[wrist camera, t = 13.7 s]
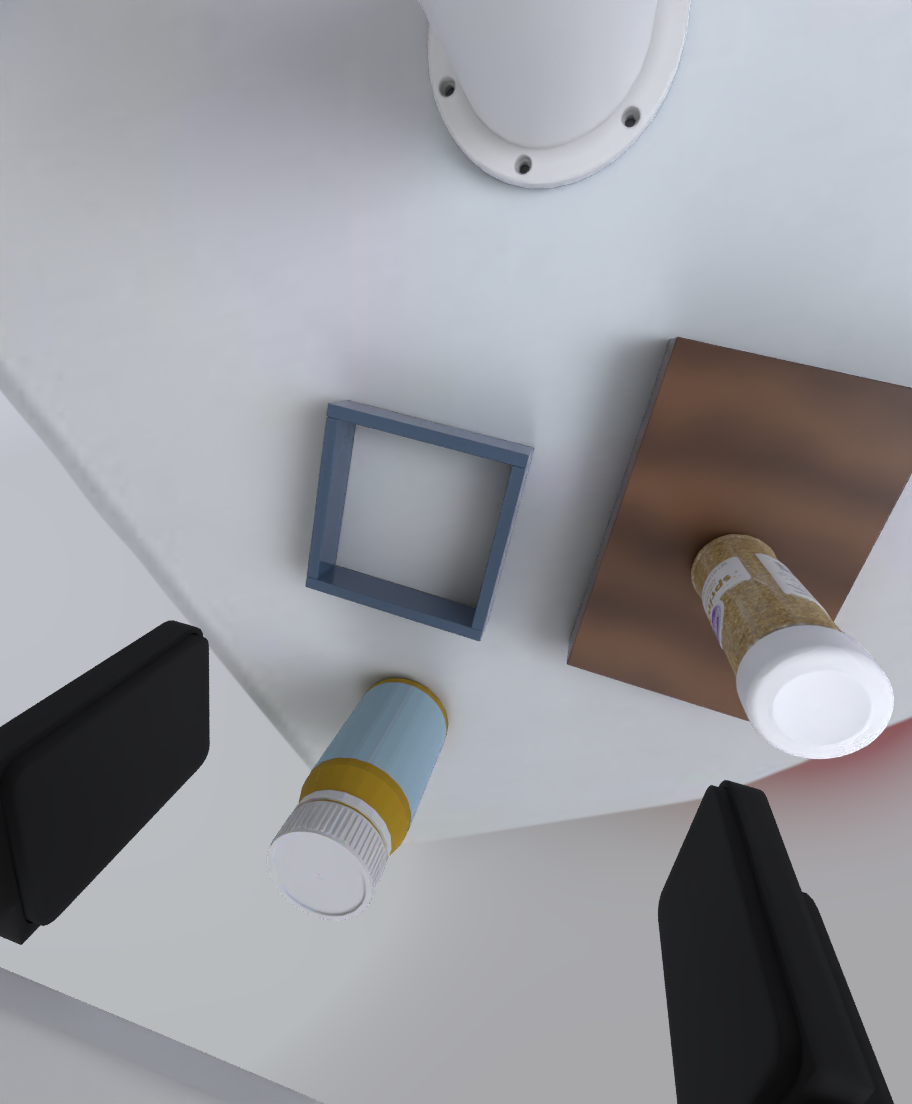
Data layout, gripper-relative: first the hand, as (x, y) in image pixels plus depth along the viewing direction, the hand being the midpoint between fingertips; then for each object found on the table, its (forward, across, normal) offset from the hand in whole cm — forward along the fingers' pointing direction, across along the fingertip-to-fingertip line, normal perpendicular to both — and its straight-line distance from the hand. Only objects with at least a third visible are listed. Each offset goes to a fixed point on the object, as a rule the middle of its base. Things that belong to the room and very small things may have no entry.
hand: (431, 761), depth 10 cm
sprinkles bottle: (+24, -11, +3) cm, 27 cm away
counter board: (+27, -11, +2) cm, 29 cm away
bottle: (+27, +6, +21) cm, 35 cm away
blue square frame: (+27, +8, +5) cm, 29 cm away
